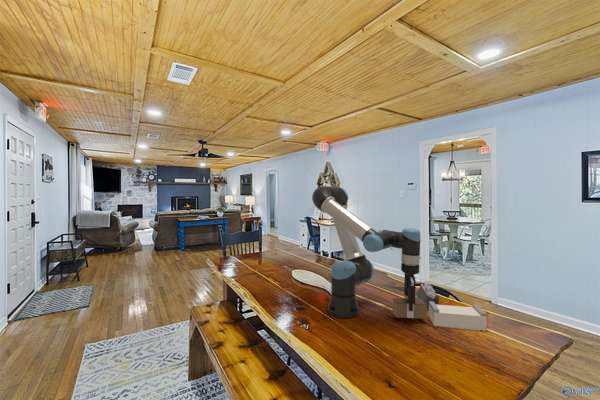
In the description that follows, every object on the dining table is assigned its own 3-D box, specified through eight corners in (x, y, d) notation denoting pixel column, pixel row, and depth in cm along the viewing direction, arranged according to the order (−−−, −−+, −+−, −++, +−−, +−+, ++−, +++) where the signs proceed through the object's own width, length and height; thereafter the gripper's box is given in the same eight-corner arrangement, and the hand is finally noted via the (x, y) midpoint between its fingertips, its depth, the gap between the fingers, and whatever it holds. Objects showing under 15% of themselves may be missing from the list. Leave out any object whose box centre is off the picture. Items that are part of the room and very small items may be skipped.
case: (396, 317, 119) (396, 303, 118) (392, 311, 125) (392, 297, 124) (426, 318, 118) (426, 304, 118) (421, 312, 124) (421, 299, 123)
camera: (419, 307, 131) (429, 289, 130) (413, 294, 147) (421, 277, 145) (438, 316, 130) (448, 298, 128) (429, 302, 145) (438, 285, 144)
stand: (434, 326, 115) (434, 309, 115) (429, 316, 124) (429, 301, 124) (486, 331, 111) (486, 313, 111) (477, 321, 120) (477, 305, 119)
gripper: (424, 270, 110) (422, 325, 111) (415, 258, 129) (413, 305, 130) (404, 268, 112) (403, 323, 113) (398, 257, 131) (397, 303, 132)
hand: (408, 313), depth 121 cm, fingers closed on case, 6 cm apart
